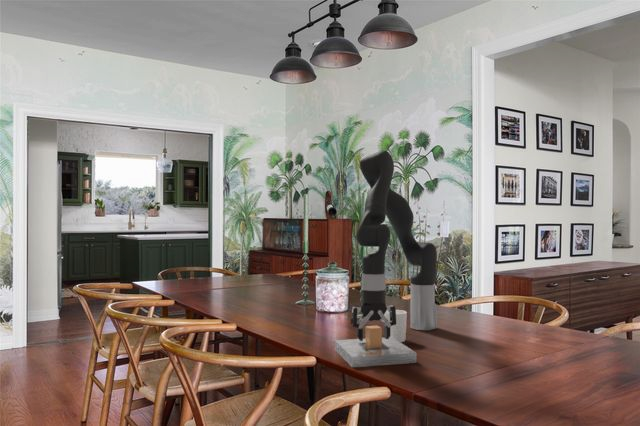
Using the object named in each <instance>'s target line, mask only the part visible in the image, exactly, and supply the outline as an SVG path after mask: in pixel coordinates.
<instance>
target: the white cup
mask: <svg viewBox="0 0 640 426" xmlns="http://www.w3.org/2000/svg"><path fill="white" fill-rule="evenodd" d="M407 315H408V312H407V311H406V310H403V309H396V325H392V326H391V328H390V337H393V338H395V339H396V340H398V341H399V342H401V343H403V342H405V341H406V338H407V337H406V335H407V334H406V333H407V319H408V318H407V317H408V316H407ZM384 316H385V317H386V318H387V320H388V321H390V313H389V312H388V310H387V311H386V312H385V314H384Z"/></svg>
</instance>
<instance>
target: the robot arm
mask: <svg viewBox="0 0 640 426" xmlns="http://www.w3.org/2000/svg"><path fill="white" fill-rule="evenodd" d="M359 168H360V171H361V173H362V175H363V177H364V179H365V181H366V182H367V184H368V186H369V187H370V189H371V190H370V191H369V192H368V193H367V196H366V197H365V198H366V199H365V203H364V211H363V212H364V213H363V216H362V219H361V221H360V224H359V226H358V228H357V229H356V237H355V238H356V241H357V244H359V246H361V247H363V248H364V247H365V248H366V247H373V248H374V247H378V250H377V251H376V252H372V253H368V254H365V255H363V256H362V260H361V265H362V267H361V268H362V269H361V271H362V274H361V305H360V307H356V306H352V307H351V311H350V312H351V314H350V326H352V327H353V328H355V329H356V339H359V340H360V341H363V339H364V329H363V327H364V326H365V324H367V322H368V321H369V322H373V321H380V320H381V322H382V324H383V325H384V326H383V328H384V331H383V332H384V333H383V336H384V338H385V339H389V337H390V328H391V326H392V325H396V310H397V309H396V306H394V305H392V304H390V305H387V301H386V300H387V298H386V293H387V291H386V288H387V283H386V273H385V270H386V269H385V268H386V265H385V264H386V261H385V260H386V254H387V250H388V247H389V243H390V240H391V234H392V233H391V230H390V227H389V226H388V225H386V224H384V222H385V220H386V218H387V220H388V221H389V223H390V225H391V226H392V229H393V230H394V231H393V232H395V234H396V236H397V238H398V241H399V243H400V246H401V249H402V251H403V254H404V257H405V259H406V260H407V262H408V263H409V264H410V265H412V266H414V267H415V266H416V267H417V266H418V267H420V271H419V272H418V273H416V274H414V275H411V276H410V278H409V279H410V281H409V282H410V289H409V290H410V292H409V293H410V298H409V299H410V307H409V309H410V317H409V318H410V320H409V321H410V327H409V328H411V329H412V330H417V331H432V330H436V329H437V327H438V326H437V322H438V321H437V319H438V317H437V316H438V314H437V312H438V311H437V310H438V308H437V307H438V305H437V303H435V301H436V300H435V295H436V294H435V292H436V291H435V284H436V283H435V280H436V276H437V264H438V263H437V261H438V259H437V258H438V254H437V253H438V251H437V248H436V246H435V245H434V244H433V243H432V242H423V241H422V242H420V241H417V240H416V239H415V237H414V235H413V232H412V231H413V229H412V228H413V224H414V218H415V217H414V213H413V211H412V208H411V207H410V204H409V202H408V200H407V199H406V198H405V197H404V196H402V195H401V194H399V193H398V192H396V191H394V190H393V189H391V185H392V180H393V176H394V171H395V164H394V159H393V157H392V155H391V153H390V152H389V151H388V150H380V151H376V152H373V153H370V154H367V155H365V156H362V157H361V158H360V159H359ZM387 310H388V312H389V313H390V321H388V320H387V318H386V317H385V316H384V314H385V312H386V311H387ZM360 312H361V314H362V315H361V316H360V318H359V320H358V315H359V314H360Z"/></svg>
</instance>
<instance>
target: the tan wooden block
mask: <svg viewBox="0 0 640 426" xmlns="http://www.w3.org/2000/svg"><path fill="white" fill-rule="evenodd" d="M382 337H383V328H382V327H380V326H379V325H365V338H366V347H367V348H381V347H382Z"/></svg>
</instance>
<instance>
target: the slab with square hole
mask: <svg viewBox="0 0 640 426" xmlns="http://www.w3.org/2000/svg"><path fill="white" fill-rule="evenodd" d="M334 351H336V352H337V354H338V355H339V356H340V357H341V358H342V359H343V360H344V361H345V362H346V363H348V365H349V366H350V367H351V368H362V367H364V368H365V367H374V366H375V367H376V366H377V367H378V366H391V365H406V364H416V363H417V352H416V351H415V350H413V349H412V348H410V347H408V346H407V345H405V344H404V343H403V342H399V341H398V340H396V339H395V338H393V337H389V339H385V338H384V337H383V336H382V347H381V348H367V347H366V337H365V338H363V341H360V340H359V339H358V338H354V339H353V338H352V339H351V338H349V339H335V340H334Z"/></svg>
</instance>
